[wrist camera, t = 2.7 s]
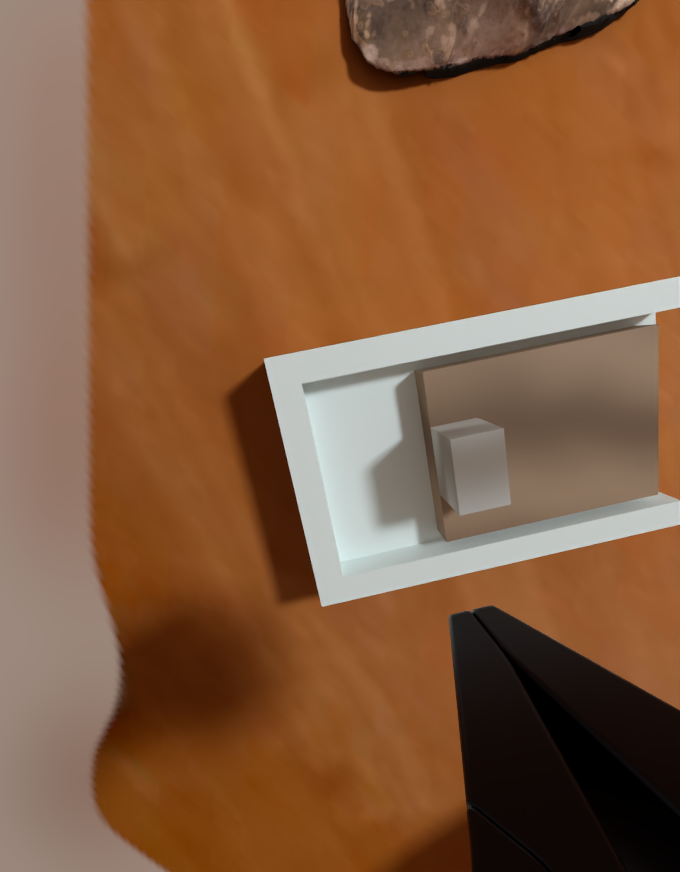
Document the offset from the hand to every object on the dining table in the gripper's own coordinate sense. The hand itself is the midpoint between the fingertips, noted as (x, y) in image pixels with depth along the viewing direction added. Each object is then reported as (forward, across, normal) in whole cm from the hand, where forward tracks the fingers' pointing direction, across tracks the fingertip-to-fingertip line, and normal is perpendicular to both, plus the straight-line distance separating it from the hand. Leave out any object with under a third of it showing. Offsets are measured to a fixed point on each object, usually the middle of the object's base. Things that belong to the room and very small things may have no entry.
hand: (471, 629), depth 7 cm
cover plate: (+10, -8, 0) cm, 13 cm away
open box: (+12, -5, 0) cm, 13 cm away
